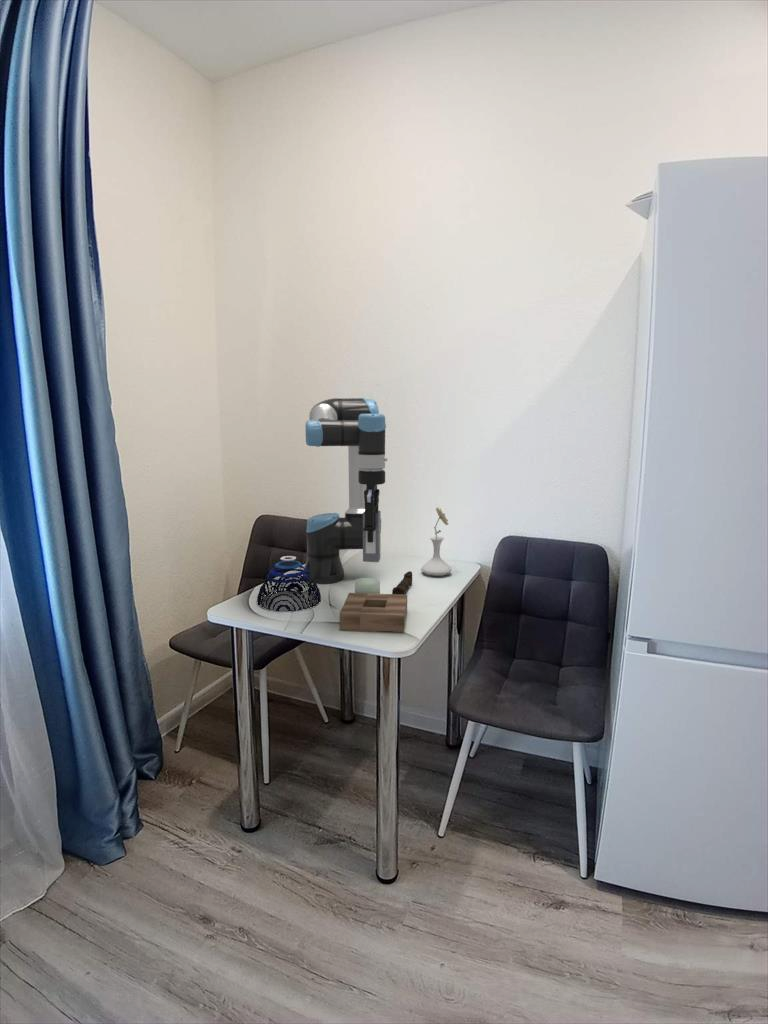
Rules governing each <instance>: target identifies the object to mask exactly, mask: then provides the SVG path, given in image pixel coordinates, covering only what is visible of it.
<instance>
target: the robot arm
mask: <svg viewBox="0 0 768 1024" xmlns="http://www.w3.org/2000/svg"><path fill="white" fill-rule="evenodd" d="M379 411H380V410H379V405H378V404H377V401H376V400H375V399H373V398H365V397H363V398H361V397H360V398H358V397H356V398H355V397H353V398H338V397H337V398H335V397H334V398H329V399H324V400H322V401H320V402H318V403H316V404H314V405H313V407H312V408H310V412H309V415H308V416H309V420H306V421H305V426H304V427H305V444H306V445H307V446H309V447H318V448H320V447H348V449H347V450H348V456H347V457H348V509H347V510H346V511H345V512H344V517H340V514H339V513H337V512H326V513H321V514H316V515H312V516H311V517H308V519H307V521H306V531H305V532H306V552H307V553H306V554H307V555H306V557H307V558H306V561H305V564H304V567H305V568H306V569H307V570H308V572H309V573H310V574H311V577H310V578H309V579H307V580H309V581H310V582H311V579H313V580H314V581H315V582H316V584H333V583H338V582H341V581H343V580H344V579H345V570H344V566H343V563H342V560H341V557H340V551H341V550H363V531H366V553H376V530H375V511H379V503H380V498H379V497H380V494H381V493H380V492H381V491H380V489H379V488H378V485H383V484H385V483H386V471H385V470H384V469H385V468H386V462H387V461H388V457H386V428H387V423H386V416H385V414H382V413H380V412H379ZM364 511H365V529H363V512H364ZM307 575H308V573H305V574H303V575H302V576H304V577H305V576H307ZM307 580H306V581H307ZM307 582H308V581H307Z"/></svg>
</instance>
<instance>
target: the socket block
mask: <svg viewBox="0 0 768 1024" xmlns="http://www.w3.org/2000/svg"><path fill="white" fill-rule="evenodd" d="M407 615H408V594H405V593H404V594H392V593H380V594H374V593H355V592H348V594H347V597H346V599H345V600H344V603H343V605H342V607H341V609H340V611H339V631H347V630H348V631H349V632H351V631H352V632H353V631H354V632H373V631H394V632H393V633H399V632H404V633H405V630H404V629H406V623H407V622H406V621H407ZM405 622H406V623H405Z"/></svg>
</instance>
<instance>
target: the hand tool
mask: <svg viewBox="0 0 768 1024" xmlns="http://www.w3.org/2000/svg"><path fill="white" fill-rule="evenodd" d="M412 585H413V572H412V571H409V570H408V571H407V572H406V573H404V575H403V578H402V579H401V581H400V582H399V583H398V584H397V585H396V586H395V587H393V588H392V590H391V594H405V593H406V591H408V589H409V587H410V586H411V587H412Z"/></svg>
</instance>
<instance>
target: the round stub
mask: <svg viewBox="0 0 768 1024" xmlns="http://www.w3.org/2000/svg"><path fill="white" fill-rule="evenodd" d="M354 593H374V594H381V581H380V580H379V579H377V578H374V577H361V578H357V579H355V580H354Z"/></svg>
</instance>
